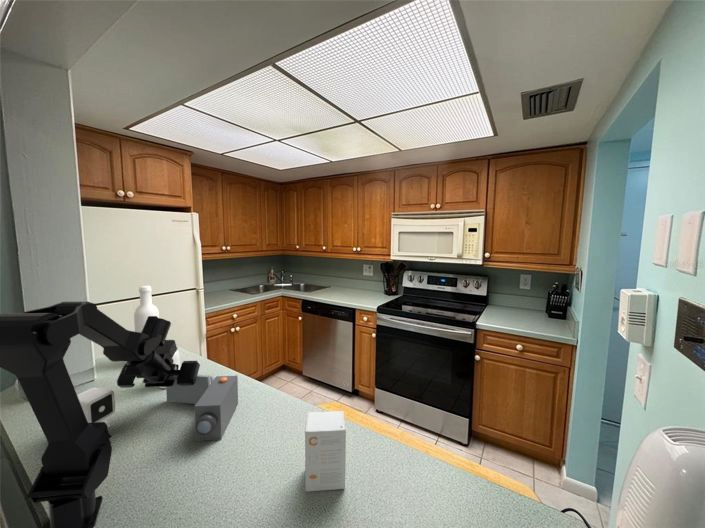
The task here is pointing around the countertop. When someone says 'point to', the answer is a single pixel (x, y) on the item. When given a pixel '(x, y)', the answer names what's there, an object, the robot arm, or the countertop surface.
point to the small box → (325, 451)
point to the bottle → (144, 308)
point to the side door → (188, 390)
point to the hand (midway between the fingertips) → (171, 383)
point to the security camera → (97, 404)
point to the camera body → (216, 407)
